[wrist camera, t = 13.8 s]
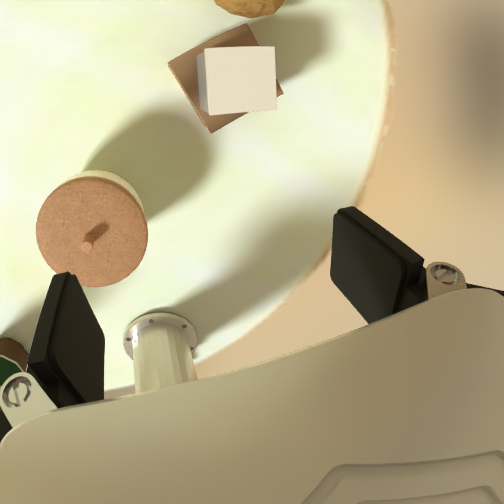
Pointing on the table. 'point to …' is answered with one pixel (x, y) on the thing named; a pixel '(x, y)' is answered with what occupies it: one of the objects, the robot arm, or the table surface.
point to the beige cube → (237, 79)
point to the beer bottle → (11, 359)
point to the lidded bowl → (93, 228)
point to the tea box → (188, 77)
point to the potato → (250, 7)
